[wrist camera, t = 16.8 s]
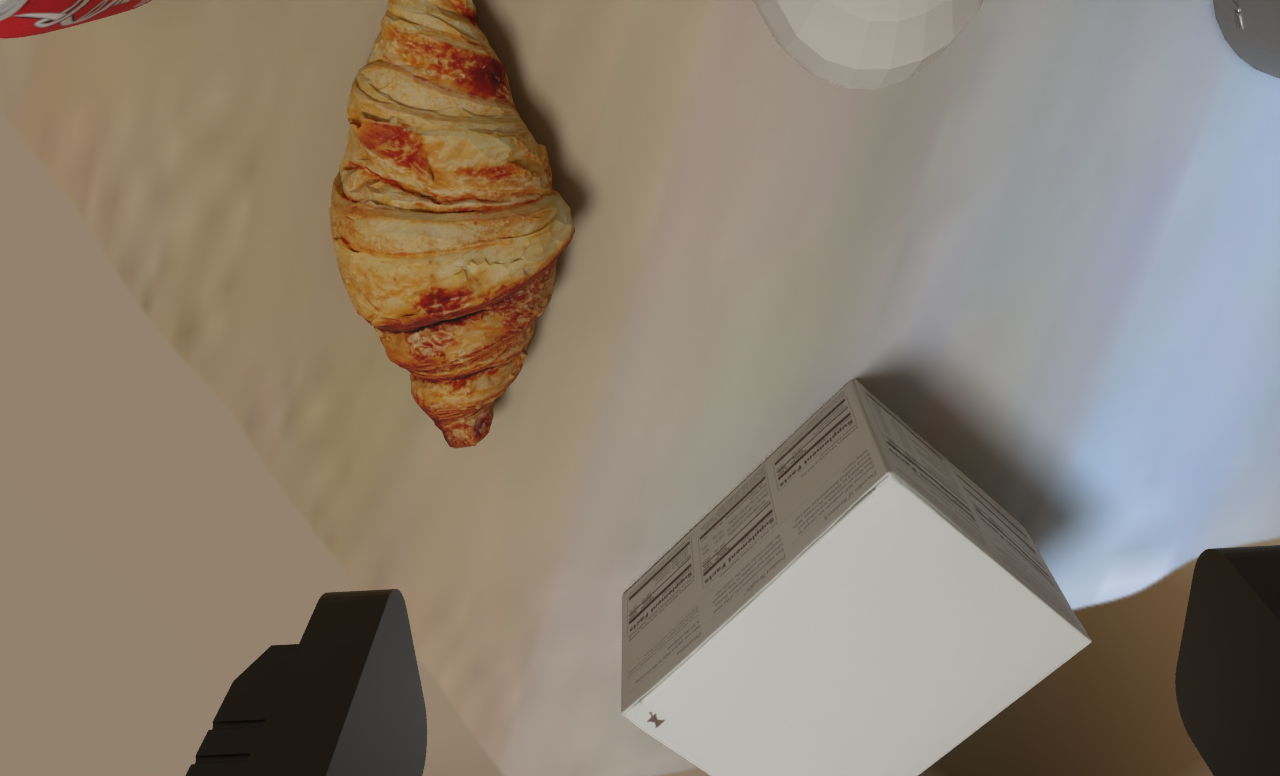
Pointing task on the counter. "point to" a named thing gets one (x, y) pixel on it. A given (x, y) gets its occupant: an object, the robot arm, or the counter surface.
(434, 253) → the croissant
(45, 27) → the soda can
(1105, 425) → the counter surface
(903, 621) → the supplement box
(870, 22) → the soap bottle
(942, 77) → the counter surface
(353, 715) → the robot arm
